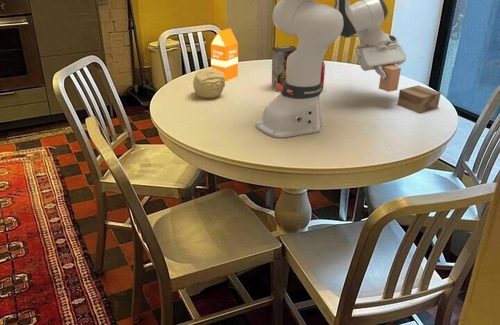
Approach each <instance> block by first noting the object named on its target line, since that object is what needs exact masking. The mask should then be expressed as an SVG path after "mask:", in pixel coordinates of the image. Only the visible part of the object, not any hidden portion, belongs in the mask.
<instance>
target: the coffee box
mask: <svg viewBox="0 0 500 325" xmlns="http://www.w3.org/2000/svg"><path fill="white" fill-rule="evenodd" d="M296 49H297V47H296V46H294V45H288V46H279V47H272V50H271V52H272V54H271V58H272V59H271V60H272V61H271V88H272V89H273V90H275V91H276V92H280V91H279V90H277V89H276V88H275V85H276V84H277V83H279V84H281V85H283V84H284V82H285V80H286V67H287V58H288V56H289V55H290V54H291V53H292V52H294V51H296Z"/></svg>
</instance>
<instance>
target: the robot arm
mask: <svg viewBox="0 0 500 325" xmlns="http://www.w3.org/2000/svg"><path fill="white" fill-rule="evenodd" d="M388 12H389V10H388V7H387V5H386V3H385V1H384V0H359V1H356V2H355V3H353V4H350V0H334V7H333V6H331V5H328V4H324V3H320V2H319V3H318V2H316V0H280V1H278V2H277V3H276V5H275V6H274V8H273V11H272V15H271V16H272V17H271V18H272V22H273V25H274V27H276V28H277V29H278V30H279V31H281V32H283V33H284V34H286V35H289V36H292V37H296V38H298V44H297V47H296V48H297V49H296V51H294V52H292V53H291V54H290V55H289V56H288V58H287V67H286V80H285V82H284V84H283V85H281V84H279V83H277V84H276V85H275V88H276V89H277V90H279V91H278V92H280V93H279V94H278V95H277V96H276V97H275V98H274V99H273V100H272V101H271V102H270V103H269V104H268V105H267V106H265V108H264V111H263V115H262V118H261V119H260V120H256V121H255V126H256V129H258V130H259V131H261V132H262V133H264V134H266V135H268V136H270V137H274V138H279V139H282V138H283V139H284V138H288V137H296V136H301V135H308V134H314V133H319V132H321V126H322V125H323V121H322V117H321V108H320V107H321V106H320V105H321V102H320V101H321V100H320V97H321V96H320V95H321V93H322V90H321V82H320V78H321V68H322V61H323V60H324V57H325V55H326V51H327V50H328V48H329V47H330V46H331V45H332V44H333V43H334V42H336V40H337V39H339V38H340V37H343V38H348V39H349V38H351V37H352V36H355V35H357V37H358V38H359V44H360V45H357V46H356V48H355V53H356V55H357V60H358V63H359V66H360V68H361V70H363V71H364V72H368V71H372V70H374V71H375V73H376V74H377V75H379V76H380V77H381V78H382V79H386V78H387V77H388V75H387V73H386V72H384V71H383V70H382V66H388V65H393V66H396V67H399V66H401V65H402V64H404V63H405V62H406V61H407V56H406V53H405V50H404V49H403V47H402V46H401V44H400V43H398V41H399V39H398V37H397V36H396V35H391V34H389V33H386V32H384V30H383V29H382V28H381V25H382V24H383V23H384V21H385V20H386V18H387V16H388Z"/></svg>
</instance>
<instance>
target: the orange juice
mask: <svg viewBox="0 0 500 325" xmlns="http://www.w3.org/2000/svg"><path fill="white" fill-rule="evenodd" d="M238 47H239V43H238V41H237V39H236V37H235V35H234V33H233V30H232V29H231V28H227V29H223V30H219V31H217V33H216V35H215V36H214V39H212V42H211V44H210V65H211V66H210V67H211V68H210V69H213V68H215V69H216V70H218V71H221V72H223V73H224V75H225V81H226V82H228V81H230V80H229V79H231V80H233V79H235V78H234V77H236V78H238V77H239V48H238ZM237 76H238V77H237ZM232 78H233V79H232ZM227 80H228V81H227Z"/></svg>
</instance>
